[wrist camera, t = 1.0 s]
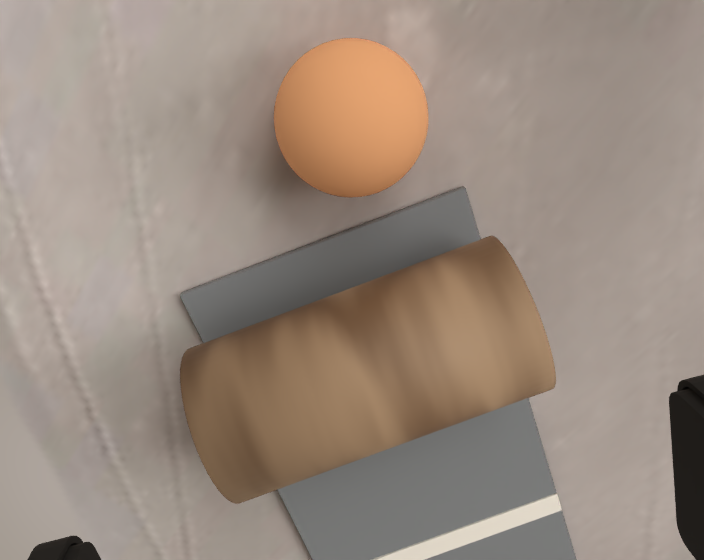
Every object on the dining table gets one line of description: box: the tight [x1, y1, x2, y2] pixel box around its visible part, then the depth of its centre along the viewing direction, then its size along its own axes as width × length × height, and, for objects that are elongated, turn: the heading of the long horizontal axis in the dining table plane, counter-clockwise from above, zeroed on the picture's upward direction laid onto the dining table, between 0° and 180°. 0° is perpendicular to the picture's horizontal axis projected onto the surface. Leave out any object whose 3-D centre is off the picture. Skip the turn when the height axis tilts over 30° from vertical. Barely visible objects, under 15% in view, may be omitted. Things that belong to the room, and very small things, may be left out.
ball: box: [274, 38, 428, 197], centre depth 25 cm, size 6×6×6 cm
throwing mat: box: [180, 186, 576, 560], centre depth 34 cm, size 14×29×1 cm, turn 20°
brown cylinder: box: [180, 236, 556, 504], centre depth 28 cm, size 14×7×7 cm, turn 110°
